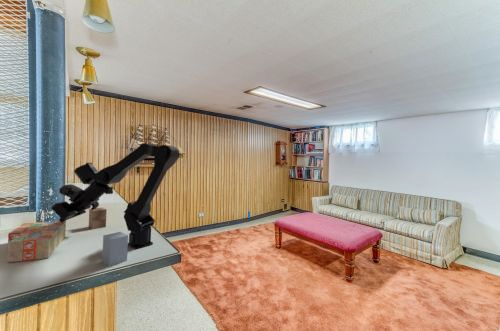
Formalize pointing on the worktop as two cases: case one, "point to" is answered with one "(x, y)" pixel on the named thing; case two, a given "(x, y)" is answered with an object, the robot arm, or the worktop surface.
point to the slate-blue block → (115, 248)
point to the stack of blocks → (35, 240)
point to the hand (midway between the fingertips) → (60, 221)
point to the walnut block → (97, 218)
